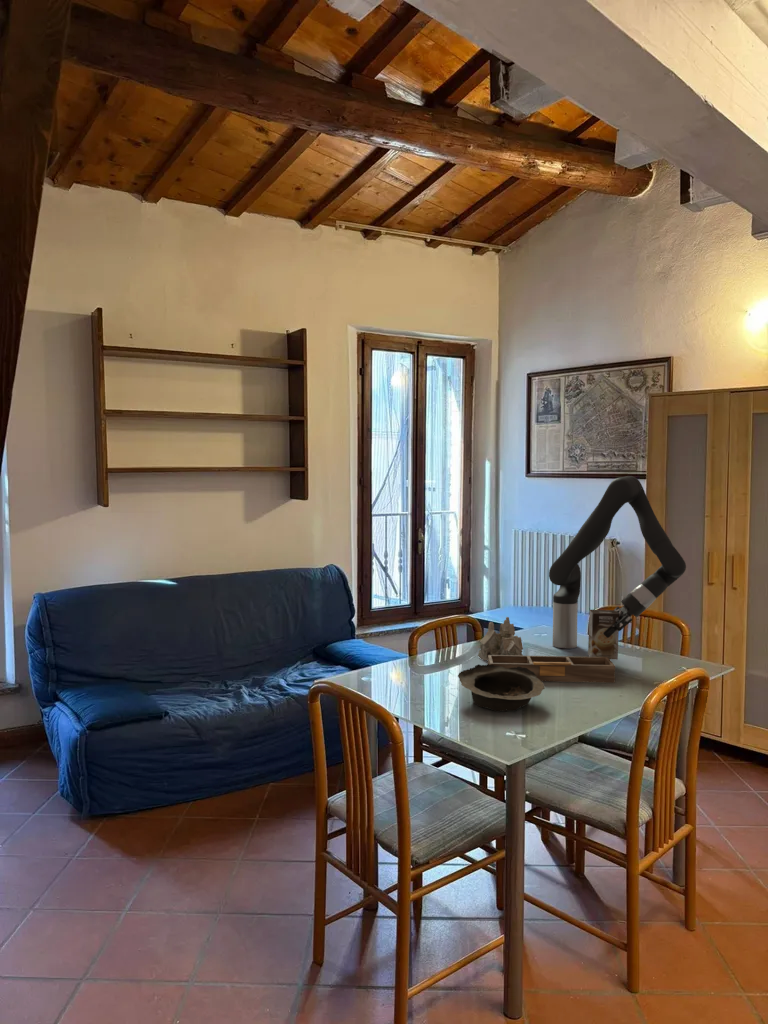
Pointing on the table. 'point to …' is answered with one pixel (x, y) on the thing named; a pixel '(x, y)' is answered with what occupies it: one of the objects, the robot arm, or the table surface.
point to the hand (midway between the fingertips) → (603, 633)
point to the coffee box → (597, 640)
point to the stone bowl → (501, 686)
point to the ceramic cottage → (500, 641)
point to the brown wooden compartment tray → (560, 667)
